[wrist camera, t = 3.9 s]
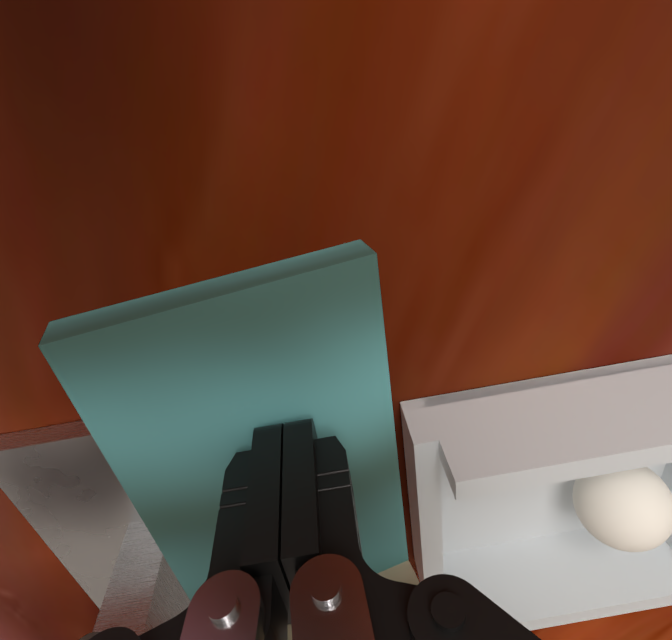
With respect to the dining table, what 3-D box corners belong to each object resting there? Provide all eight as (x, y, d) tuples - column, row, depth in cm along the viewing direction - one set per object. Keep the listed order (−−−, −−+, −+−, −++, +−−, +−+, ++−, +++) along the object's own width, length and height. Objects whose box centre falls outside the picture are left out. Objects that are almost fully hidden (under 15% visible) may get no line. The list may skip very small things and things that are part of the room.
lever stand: (-12, 436, 18) (-127, 585, 13) (229, 394, 18) (207, 526, 13) (135, 627, 27) (98, 764, 22) (300, 598, 27) (303, 727, 22)
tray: (399, 401, 20) (427, 487, 16) (714, 346, 20) (818, 418, 16) (414, 558, 26) (436, 647, 22) (653, 516, 26) (717, 597, 22)
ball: (675, 534, 17) (696, 465, 19) (564, 482, 20) (595, 426, 22) (652, 590, 19) (673, 521, 21) (554, 536, 22) (583, 480, 24)
